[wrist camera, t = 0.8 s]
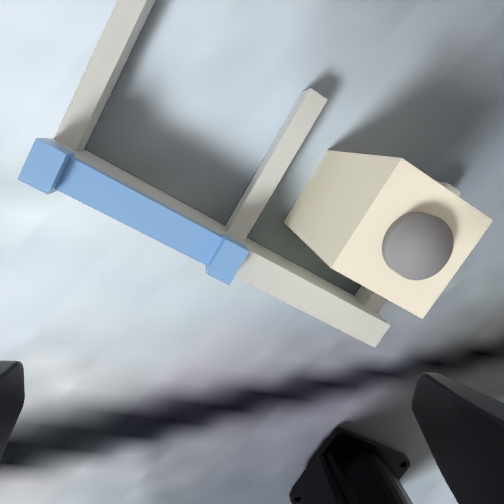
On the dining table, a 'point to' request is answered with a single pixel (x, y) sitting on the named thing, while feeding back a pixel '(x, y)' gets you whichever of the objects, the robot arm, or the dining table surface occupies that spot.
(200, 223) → the white post rack
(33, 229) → the dining table surface
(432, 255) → the cream rectangular block
